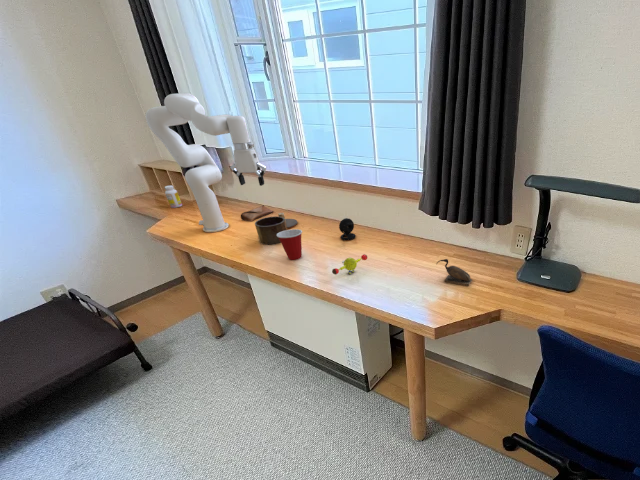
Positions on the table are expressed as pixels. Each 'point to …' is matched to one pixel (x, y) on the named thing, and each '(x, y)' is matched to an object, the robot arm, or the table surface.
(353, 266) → the toy figure
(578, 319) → the table surface
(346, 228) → the webcam
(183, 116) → the robot arm
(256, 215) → the sunglasses case
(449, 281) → the figurine
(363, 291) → the table surface
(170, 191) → the supplement bottle
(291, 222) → the basket lid
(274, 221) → the basket
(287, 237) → the plastic cup
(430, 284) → the table surface
